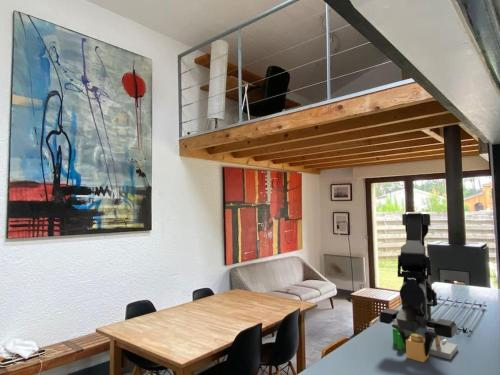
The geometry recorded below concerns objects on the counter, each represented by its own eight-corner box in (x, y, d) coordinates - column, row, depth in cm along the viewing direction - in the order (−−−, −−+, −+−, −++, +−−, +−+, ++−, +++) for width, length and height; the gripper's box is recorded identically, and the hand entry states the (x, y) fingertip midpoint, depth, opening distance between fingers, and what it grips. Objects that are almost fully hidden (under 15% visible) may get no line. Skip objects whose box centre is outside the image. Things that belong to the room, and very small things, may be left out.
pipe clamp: (405, 336, 109) (404, 321, 109) (417, 339, 106) (416, 324, 107) (388, 346, 102) (387, 331, 102) (401, 350, 99) (400, 334, 99)
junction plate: (428, 341, 104) (427, 325, 104) (458, 349, 99) (457, 331, 99) (418, 351, 98) (417, 333, 98) (450, 359, 92) (449, 340, 93)
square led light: (412, 352, 97) (411, 331, 98) (428, 356, 94) (427, 335, 95) (406, 357, 94) (405, 336, 94) (423, 362, 91) (422, 340, 91)
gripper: (369, 296, 96) (372, 353, 95) (444, 310, 83) (447, 375, 82) (386, 288, 104) (388, 340, 103) (455, 299, 91) (458, 359, 90)
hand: (417, 353), depth 94 cm, fingers closed on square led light, 4 cm apart
